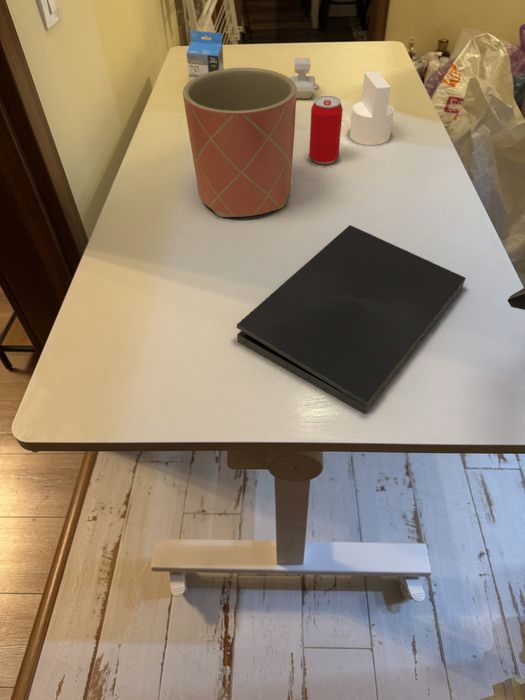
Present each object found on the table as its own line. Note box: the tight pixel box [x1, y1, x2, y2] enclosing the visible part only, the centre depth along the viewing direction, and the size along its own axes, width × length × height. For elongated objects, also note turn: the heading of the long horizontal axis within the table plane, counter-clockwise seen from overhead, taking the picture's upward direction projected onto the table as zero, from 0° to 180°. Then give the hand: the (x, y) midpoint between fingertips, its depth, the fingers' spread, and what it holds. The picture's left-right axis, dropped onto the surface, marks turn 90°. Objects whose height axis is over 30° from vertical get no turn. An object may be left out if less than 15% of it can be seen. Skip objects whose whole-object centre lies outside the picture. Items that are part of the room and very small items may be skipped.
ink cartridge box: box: [186, 30, 225, 82], centre depth 134 cm, size 9×4×12 cm, turn 73°
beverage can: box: [308, 95, 344, 165], centre depth 106 cm, size 6×6×12 cm
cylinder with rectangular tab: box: [349, 71, 395, 146], centre depth 113 cm, size 9×9×12 cm
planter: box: [182, 67, 297, 218], centre depth 94 cm, size 19×19×20 cm
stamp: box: [289, 57, 320, 99], centre depth 130 cm, size 9×7×8 cm
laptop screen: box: [236, 224, 467, 406], centre depth 76 cm, size 21×30×1 cm
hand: (510, 301), depth 60 cm, fingers closed
